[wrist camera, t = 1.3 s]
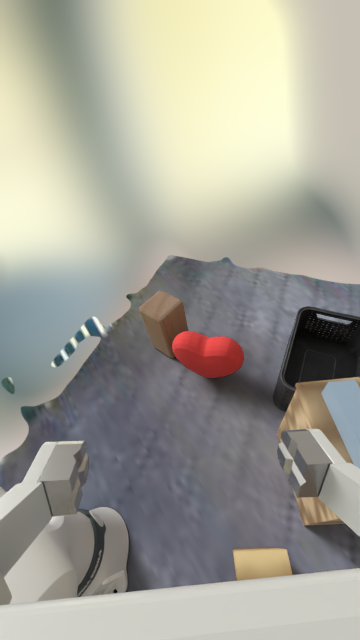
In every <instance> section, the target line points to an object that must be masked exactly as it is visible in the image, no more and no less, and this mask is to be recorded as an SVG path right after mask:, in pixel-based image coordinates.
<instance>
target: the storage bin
mask: <svg viewBox="0 0 360 640" xmlns="http://www.w3.org/2000/svg"><path fill="white" fill-rule="evenodd" d="M316 313H317V314H321V315H325V316H330V317H334V318H339V319H343V320H349V321H353V322H351V323H350V324H344V323H340V322H335V321H331V320H326V319H322V318H318V317H317V314H316ZM309 318H311V319H309ZM313 319H315V320H313ZM318 320H319V321H318ZM312 321H314V322H312ZM311 323H312V324H311ZM323 324H324V325H323ZM339 325H340V326H339ZM332 326H334V327H332ZM343 326H344V327H343ZM355 326H357V327H355ZM326 327H327V328H326ZM336 327H338V328H336ZM321 328H322V329H321ZM330 328H332V329H330ZM325 329H326V330H325ZM346 329H347V330H346ZM330 330H331V331H330ZM340 330H341V331H340ZM324 331H325V332H324ZM334 331H335V332H334ZM319 332H320V333H319ZM328 332H329V333H328ZM323 333H324V334H323ZM323 335H324V336H323ZM326 336H328V337H326ZM331 337H332V338H331ZM342 340H343V341H342ZM353 377H359V378H360V317H358V316H353V315H348V314H343V313H338V312H334V311H329V310H325V309H320V308H316V307H310V306H307V307H303V308H301V309H299V311H298V313H297V316H296V319H295V323H294V326H293V329H292V332H291V335H290V338H289V342H288V345H287V349H286V352H285V356H284V359H283V363H282V366H281V370H280V373H279V377H278V381H277V384H276V388H275V391H274V395H273V399H274V403H275V404H276V406H277V407H278V408H279V409H281V410H283V411H285V412H286V411H287V409H288V407H289V404H290V402H291V400H292V398H293V396H294V393H295V391H296V387H295V384H296V383H301V382H312V381H322V380H333V379H343V378H353Z"/></svg>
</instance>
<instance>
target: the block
mask: <svg viewBox="0 0 360 640" xmlns="http://www.w3.org/2000/svg"><path fill="white" fill-rule="evenodd" d="M139 310H140V313H141V316H142V318H143V321H144V323H145V326H146V329H147V331H148V334H149V336H150V339H151V342H152V344H153V346H154V347H155V348H156V349H158V350H159V351H161V352H162V353H164V354H166V355H167V356H169V357H170V358H172V359H173V358H174V357H175V355H174V353H173V349H172V344H173V340H174V339H175V337H176V336H177V335H178V334H180V333H182V332H184V331H188V327H187V322H186V316H185V311H184V306H183V302H182V301H181V300H180V299H178V298H176V297H173V296H171V295H169V294H167V293H165V292H163V291H158V292H157V293H156V294H155V295H154V296H152V297H151V298H150V299H149V300H148V301H146V302H145V303H144V304H143V305H142V306H140V308H139Z"/></svg>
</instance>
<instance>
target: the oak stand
mask: <svg viewBox="0 0 360 640" xmlns="http://www.w3.org/2000/svg"><path fill="white" fill-rule="evenodd" d="M345 380H356V382H357V384H358V385H359V387H360V378H359V377H353V378H343V379H333V380H322V381H312V382H301V383H296V384H295V387H296V391H295V393H294V396H293V398H292V400H291V402H290V404H289V407H288V409H287V411H286V413H285V416H284V418H283V420H282V422H281V425H280V427H279V429H278V431H277V435H278V439H279V442H280V443H281V442H282V439H281V438H280V437H281V433H282V432H283V431H284V430H300V429H319V430H321V431H322V432H323V434H324V435H325V436H326V437H327V439H328V440H329V441H330V443H331V444H332V445H333V446H334V448H335V449H336V450H337V451H338V453H339V454H340V455H341V456H342V458H343V459H344V460H345V461H346V463H351V464H353V462H352V459H351V457H350V455H349V453H348V451H347V449H346V446H345V444H344V442H343V440H342V438H341V436H340V433H339V431H338V429H337V427H336V425H335V423H334V420H333V418H332V416H331V414H330V412H329V410H328V407H327V405H326V403H325V401H324V399H323V396H322V394H321V393H322V391H323V390H324V388H325V386H326V385H327V383H328V382H334V381H345ZM353 465H354V464H353ZM294 494H295V492H294ZM295 497H296V500H297V504H298V507H299V511H300V514H301V518H302V521H303V525H304V526H306V525H327V524H345V523H344V522H343V521H342V520H341V519H340V518H339V517H338V516H337V515H336V514H335V513H334V512H333V511H332V510H330V509H329V508H328V507H327V506H326V505H325V504H324V503H323V502H322V501H321V500H320V499H319V498H318V497H302V498H297V496H296V494H295Z"/></svg>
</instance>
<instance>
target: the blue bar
mask: <svg viewBox="0 0 360 640" xmlns="http://www.w3.org/2000/svg"><path fill="white" fill-rule="evenodd" d="M321 394H322V396H323V399H324V401H325V403H326V405H327V407H328V410H329V412H330V414H331V416H332V418H333V420H334V423H335V425H336V427H337V429H338V431H339V433H340V436H341V438H342V440H343V442H344V444H345V446H346V449H347V451H348V453H349V455H350V457H351V459H352V462H353V464H354V465H355V466H356V467H358V468H359V469H360V387H359V385H358V384H357V382H356V380H345V381H334V382H328V383H327V385H326V386H325V388H324V390H323V391H322V393H321Z"/></svg>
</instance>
